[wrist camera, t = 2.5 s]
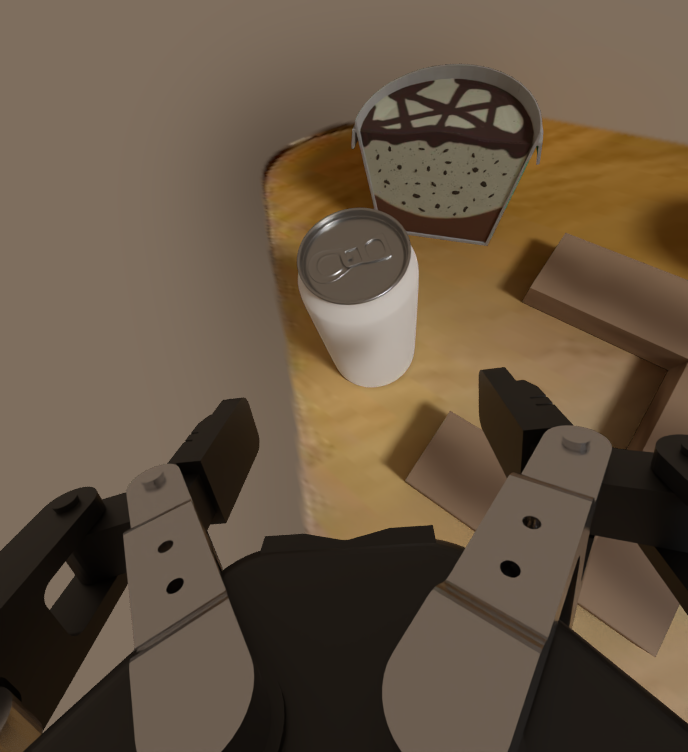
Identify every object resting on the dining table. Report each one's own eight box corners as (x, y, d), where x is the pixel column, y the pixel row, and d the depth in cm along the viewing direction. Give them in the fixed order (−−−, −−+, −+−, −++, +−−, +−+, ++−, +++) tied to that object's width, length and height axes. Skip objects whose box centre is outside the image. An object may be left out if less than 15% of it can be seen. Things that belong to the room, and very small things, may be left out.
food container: (518, 190, 32) (565, 59, 22) (506, 248, 30) (551, 132, 21) (381, 176, 35) (373, 56, 25) (363, 228, 33) (347, 119, 24)
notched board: (555, 250, 29) (565, 232, 27) (774, 339, 24) (805, 325, 22) (405, 481, 25) (405, 480, 23) (632, 643, 20) (655, 657, 18)
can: (324, 329, 30) (276, 226, 19) (398, 303, 30) (394, 183, 19) (345, 400, 28) (305, 330, 17) (426, 373, 27) (441, 284, 16)
